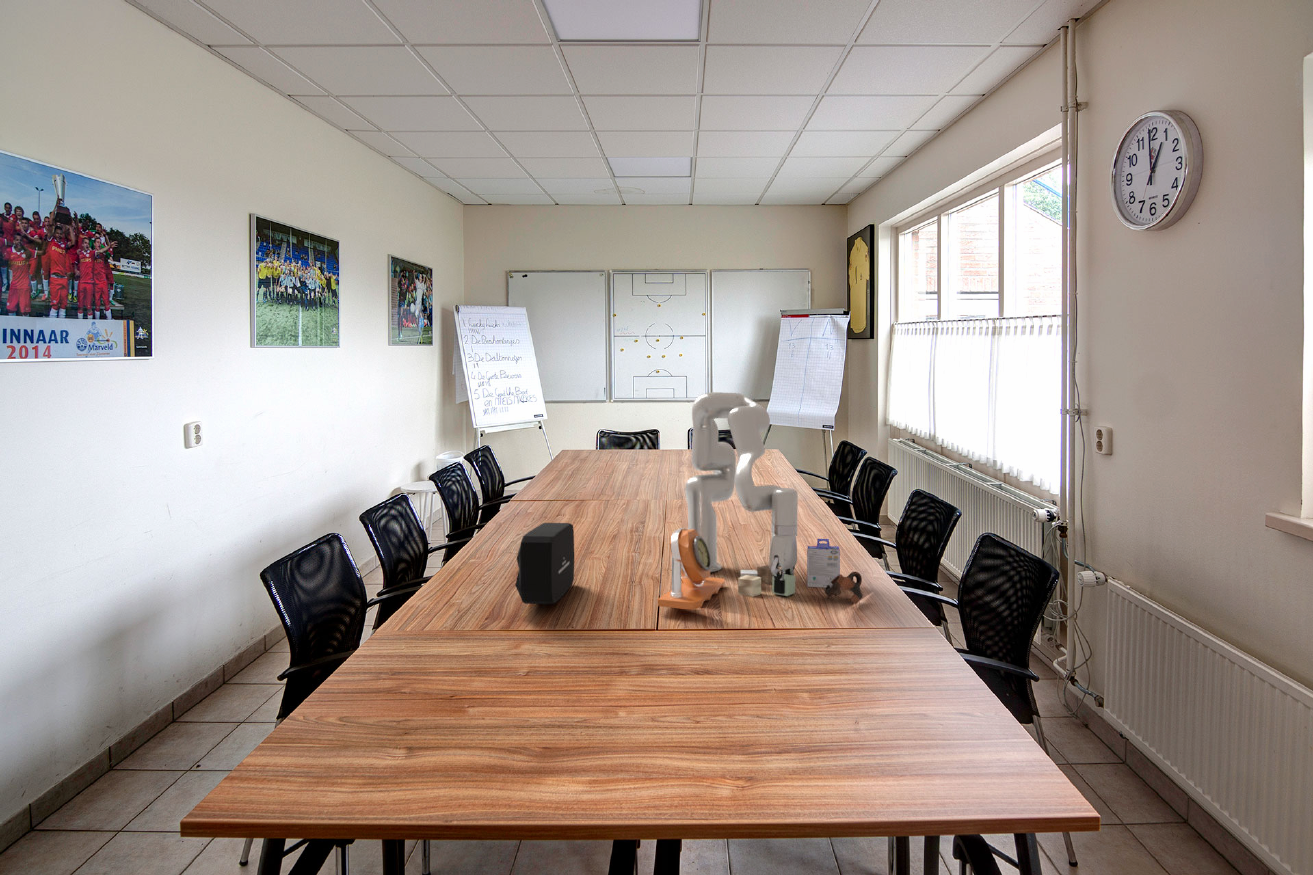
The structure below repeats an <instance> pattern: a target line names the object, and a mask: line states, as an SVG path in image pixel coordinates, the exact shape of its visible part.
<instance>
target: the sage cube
mask: <svg viewBox="0 0 1313 875" xmlns="http://www.w3.org/2000/svg"><path fill="white" fill-rule="evenodd" d="M780 575H781V573H780ZM773 577H774V576H773ZM773 577H772V583H771V584H772V585H771V586H772V587H771V592H772V594H774V595H779V596H785V597H789V596H791V595H793V594H795V593H796V575H794V576H793V575H787V574H784V580H785V593H784V594H779V593H775V592H774V579H773Z"/></svg>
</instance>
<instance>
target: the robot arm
mask: <svg viewBox="0 0 1313 875" xmlns="http://www.w3.org/2000/svg"><path fill="white" fill-rule="evenodd" d="M691 419H692V440H691V442H692V444H691V464H692V467H693V468H694V469H695V470H697V471H699V472H700V471H702V472H708V471H709V472H711V471H713V473H710V474H709V473H706V474H698V475H697V474H696V475H694V476H691V477H690V478H689V479H688V480H687V481H686V483H685V485H684V486H685V487H684V492H685V498H686V499H685V500H686V504H687V520H688V521H687V523H688V526H687V529H688V530H690V529H695V530H696V531H697V533H698V534H699V535H700V536H701V537H702V538H703V539H704V541H705V542H706V544H707V546H708V549H709V552H710V556H711V568H710V573H713V572H718V571H720V570H721V569H722V564H720V563H718V560H717V558H718V557H717V556H718V555H717V554H718V552H717V546H718V544H717V537H718V536H717V529H718V528H717V526H718V525H717V522H718V521H717V520H718V519H717V514H716V511H715V508H714V506H713V504H712V503H717V502H719V503H720V502H724V501H727V500H729V499H730V498H731V497H732V496H733V493H734V490H736V491H735V492H736V494H737V497H738V500H739V502H740V504H741V506H742V508H743V509H744V510H746V511H748V512H751V513H752V512H753V513H754V512H763V511H771V538H770V544H769V551H768V552H769V553H768V554H769V555H768V565H769V568H770V569H771V572H772V574H773V576H774V577H773V579H774V592H775V593H779V594H784V593H785V580H784V574H787V575H793V576H795V572H794V571H795V568H796V565H797V562H798V544H797V542H798V541H797V537H798V516H799V515H798V514H799V512H798V510H799V509H798V507H799V506H798V504H799V503H798V502H799V499H798V498H799V497H798V491H797V490H796V489H794V488H791V487H780V486H778V485H773V484H768V485H765V484H764V485H755V483H754V479H753V476H752V471H753V470H752V469H753V467H754V463H755V462H756V461H757V460H758V459H761V458H762V457H763V456H764V454H765V453H766V448H765V445H764V442H763V439H762V436H761V433H762V432H765V431H767V430H768V428H769V426H770V424H771V423H770V421H771V418H770V414H769V413H768V411H767V409H765V407H764V406H762V405H760V404H759V403H757V402H756V401H754V400H753V399H752V398H751V399H750V397H748V396H746V395H744V394H742V393H737V392H717V391H716V392H714V391H713V392H705V393H702V394H700V395H698V397H696V399H695V400H694V401H693V404H692V408H691ZM716 419H727V423H728V424H727V425H728V427H729V430H730V433H731V437H732V440H733V443H734V446H735V450H736V453H737V456H738V460H737V457H736V453H735V450H734V447H732V445H731V444H729V443H728V442H726V441H719V428H718V427H719V426H718V423H717V422H716V421H715V420H716ZM736 461H737V462H736ZM778 567H779V568H780V569H778ZM778 571H780V573H779V572H778ZM780 574H781V575H780Z"/></svg>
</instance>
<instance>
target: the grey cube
mask: <svg viewBox="0 0 1313 875" xmlns="http://www.w3.org/2000/svg"><path fill="white" fill-rule="evenodd" d="M745 575H749V576H756V577H758V573H757V569H740V577H743V576H745Z"/></svg>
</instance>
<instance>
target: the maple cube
mask: <svg viewBox="0 0 1313 875" xmlns="http://www.w3.org/2000/svg"><path fill="white" fill-rule="evenodd" d="M761 594H762V582H761V577H756V576H749V575H745V576H743V577H741V576H740V577H738V578H737V595H738V596H743V597H749V598H754V597H757V596H759V595H761Z"/></svg>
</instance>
